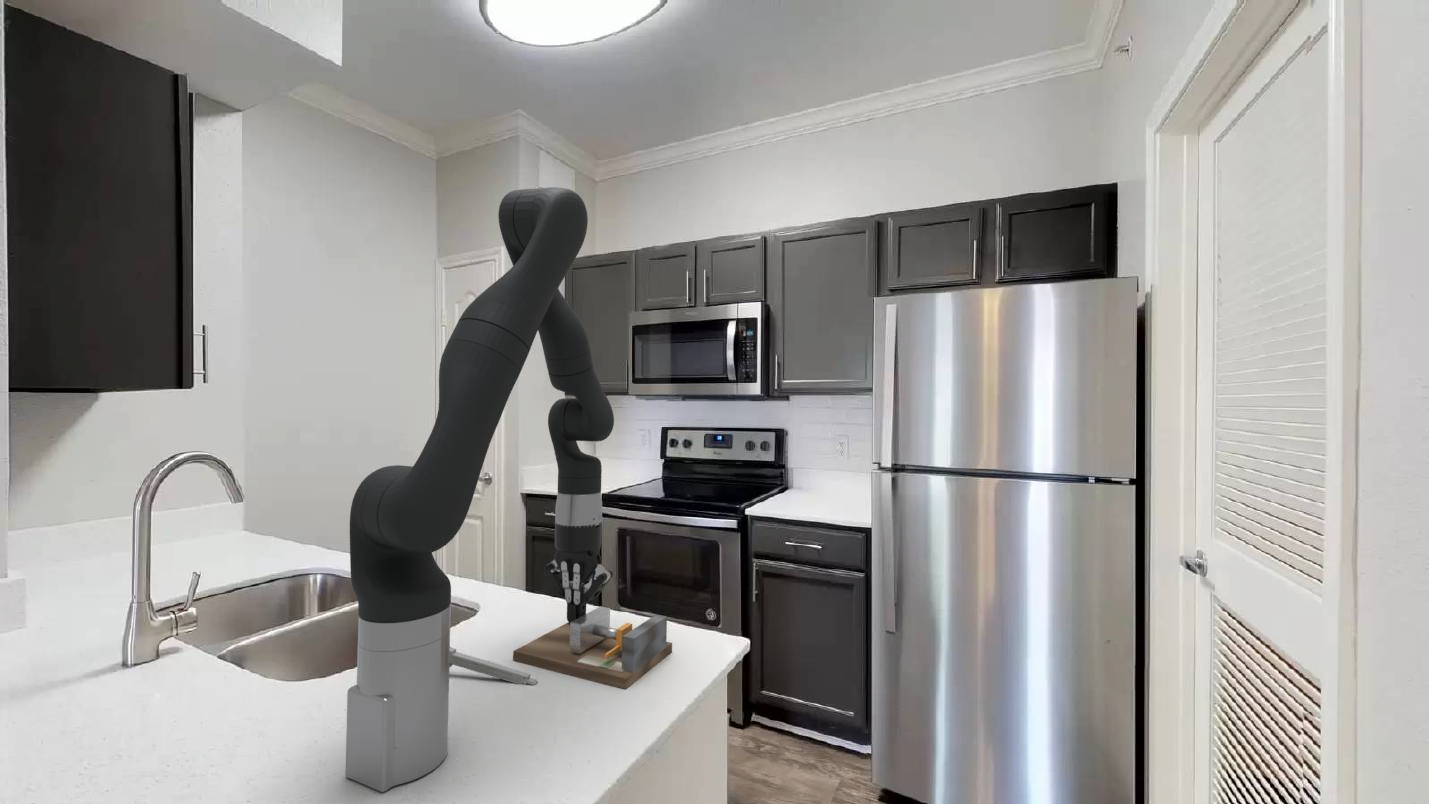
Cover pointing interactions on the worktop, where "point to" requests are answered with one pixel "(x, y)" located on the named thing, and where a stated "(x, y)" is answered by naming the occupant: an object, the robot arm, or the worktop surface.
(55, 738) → the worktop surface
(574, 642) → the plunger
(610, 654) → the orange paddle
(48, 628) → the worktop surface
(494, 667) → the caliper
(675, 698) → the worktop surface
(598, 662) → the gauge board
